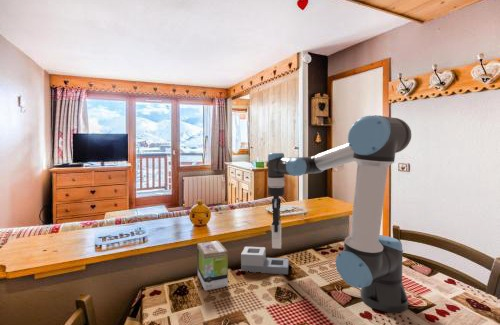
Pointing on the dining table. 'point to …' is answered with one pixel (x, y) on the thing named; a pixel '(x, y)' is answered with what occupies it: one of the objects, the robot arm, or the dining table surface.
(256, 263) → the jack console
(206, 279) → the tea box
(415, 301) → the dining table surface
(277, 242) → the plug
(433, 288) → the dining table surface
